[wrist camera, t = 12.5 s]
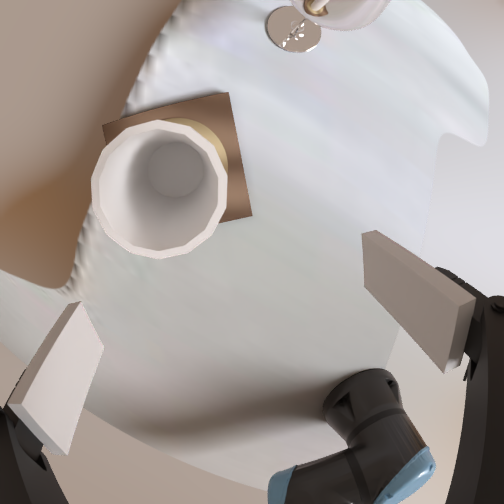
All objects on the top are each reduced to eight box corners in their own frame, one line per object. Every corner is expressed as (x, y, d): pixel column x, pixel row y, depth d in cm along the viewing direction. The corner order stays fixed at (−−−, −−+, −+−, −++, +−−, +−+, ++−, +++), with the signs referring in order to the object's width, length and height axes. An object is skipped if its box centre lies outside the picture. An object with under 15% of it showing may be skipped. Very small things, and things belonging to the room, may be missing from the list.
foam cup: (125, 201, 32) (83, 242, 20) (143, 118, 29) (105, 110, 17) (208, 219, 34) (209, 270, 22) (230, 137, 31) (245, 140, 19)
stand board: (250, 213, 36) (252, 216, 34) (135, 240, 35) (132, 244, 34) (227, 93, 30) (228, 91, 29) (105, 125, 29) (101, 125, 28)
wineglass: (276, -10, 26) (330, -94, 9) (337, 21, 28) (426, -34, 12) (247, 40, 28) (287, -36, 12) (312, 71, 30) (400, 32, 14)
